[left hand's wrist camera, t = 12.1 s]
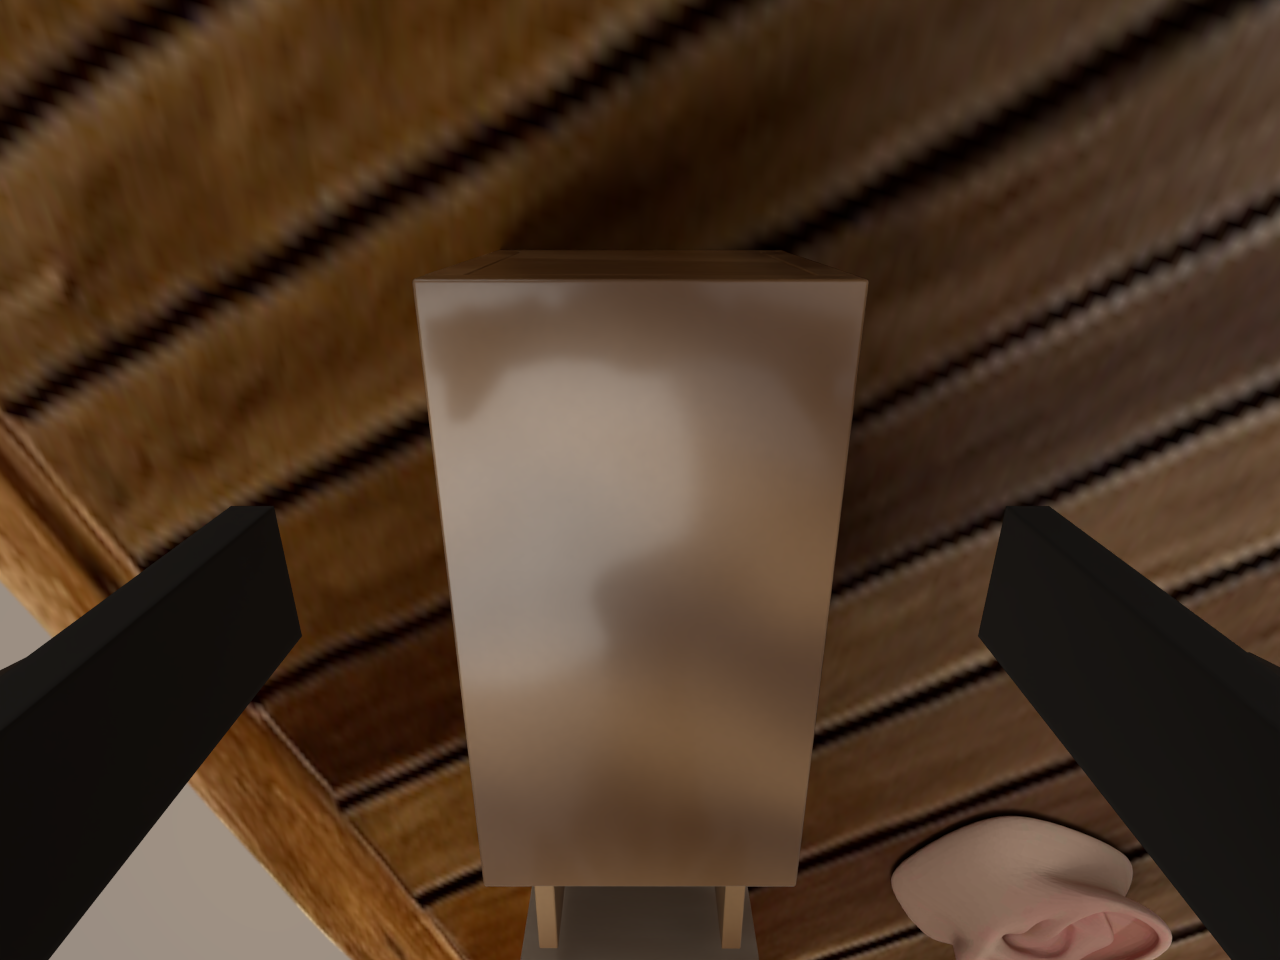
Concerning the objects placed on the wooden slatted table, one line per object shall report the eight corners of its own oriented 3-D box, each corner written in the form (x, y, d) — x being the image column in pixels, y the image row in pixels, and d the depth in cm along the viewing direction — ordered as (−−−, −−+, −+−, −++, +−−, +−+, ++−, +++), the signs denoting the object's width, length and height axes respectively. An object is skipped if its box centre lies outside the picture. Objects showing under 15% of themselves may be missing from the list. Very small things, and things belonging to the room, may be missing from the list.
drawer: (728, 887, 40) (752, 1078, 31) (551, 887, 40) (526, 1078, 31) (756, 477, 31) (803, 588, 22) (523, 477, 31) (476, 588, 22)
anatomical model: (880, 966, 38) (1030, 838, 34) (858, 898, 42) (992, 777, 38) (1051, 1047, 41) (1207, 937, 37) (1017, 977, 44) (1156, 871, 41)
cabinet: (749, 684, 36) (796, 887, 25) (529, 684, 36) (483, 887, 25) (782, 249, 28) (870, 278, 17) (498, 249, 28) (411, 278, 17)
